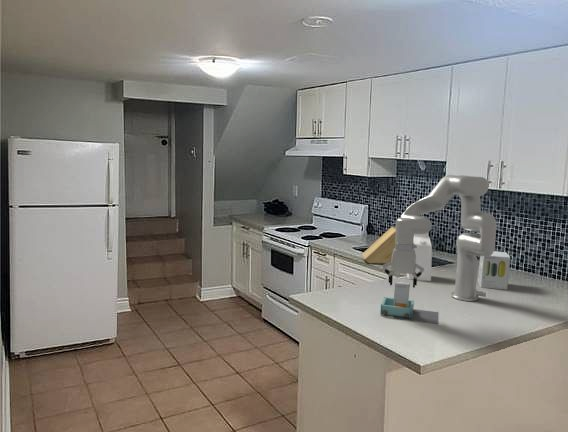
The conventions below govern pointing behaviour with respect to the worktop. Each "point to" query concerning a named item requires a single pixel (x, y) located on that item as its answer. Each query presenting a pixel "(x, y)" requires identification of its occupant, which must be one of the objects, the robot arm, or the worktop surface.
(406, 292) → the skincare box
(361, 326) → the worktop surface
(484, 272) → the supplement box
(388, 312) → the teal open tray
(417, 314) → the mat
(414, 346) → the worktop surface
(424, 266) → the milk
